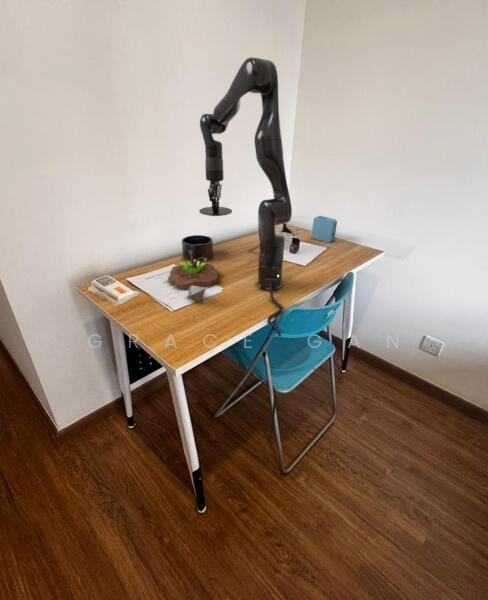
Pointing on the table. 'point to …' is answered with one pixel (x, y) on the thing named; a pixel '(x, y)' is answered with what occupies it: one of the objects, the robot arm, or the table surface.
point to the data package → (324, 228)
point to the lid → (218, 212)
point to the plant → (193, 274)
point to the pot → (197, 247)
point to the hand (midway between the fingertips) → (215, 209)
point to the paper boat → (196, 293)
